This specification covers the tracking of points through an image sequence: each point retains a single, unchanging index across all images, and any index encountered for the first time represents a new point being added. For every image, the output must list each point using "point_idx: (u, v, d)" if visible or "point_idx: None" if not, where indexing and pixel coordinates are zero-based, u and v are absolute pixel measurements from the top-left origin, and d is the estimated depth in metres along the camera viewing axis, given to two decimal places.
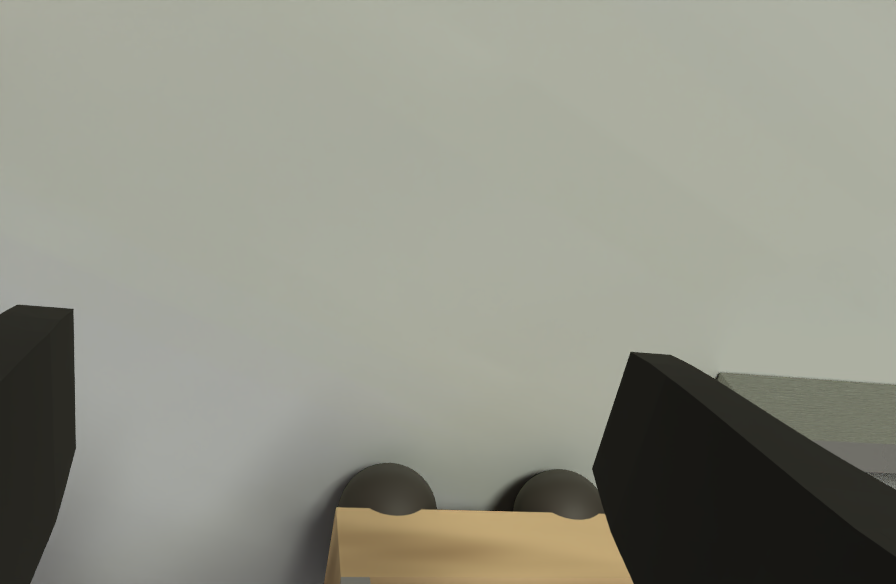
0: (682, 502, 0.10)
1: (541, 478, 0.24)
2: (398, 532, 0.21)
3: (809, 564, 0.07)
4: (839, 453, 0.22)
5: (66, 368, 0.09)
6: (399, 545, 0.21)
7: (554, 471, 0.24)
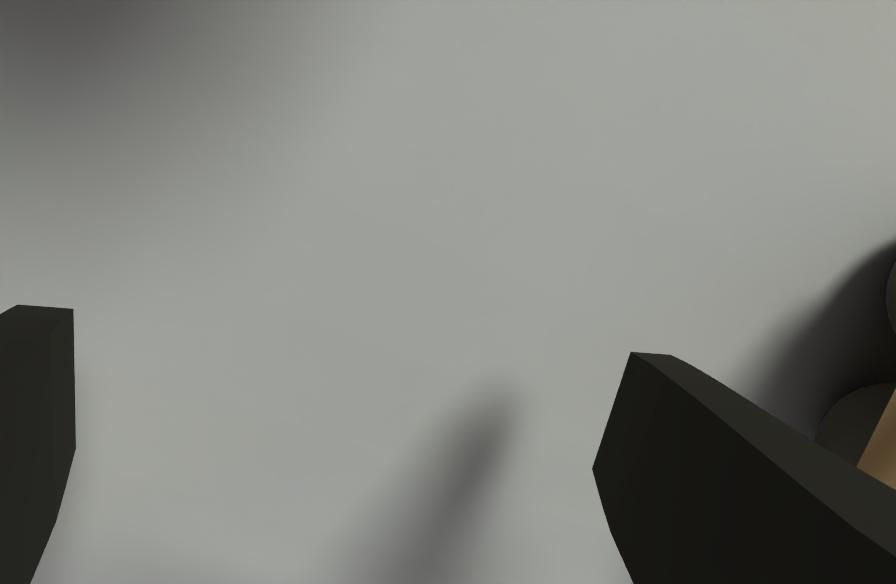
0: (682, 502, 0.10)
1: None
2: None
3: (809, 564, 0.07)
4: None
5: (66, 368, 0.09)
6: None
7: None
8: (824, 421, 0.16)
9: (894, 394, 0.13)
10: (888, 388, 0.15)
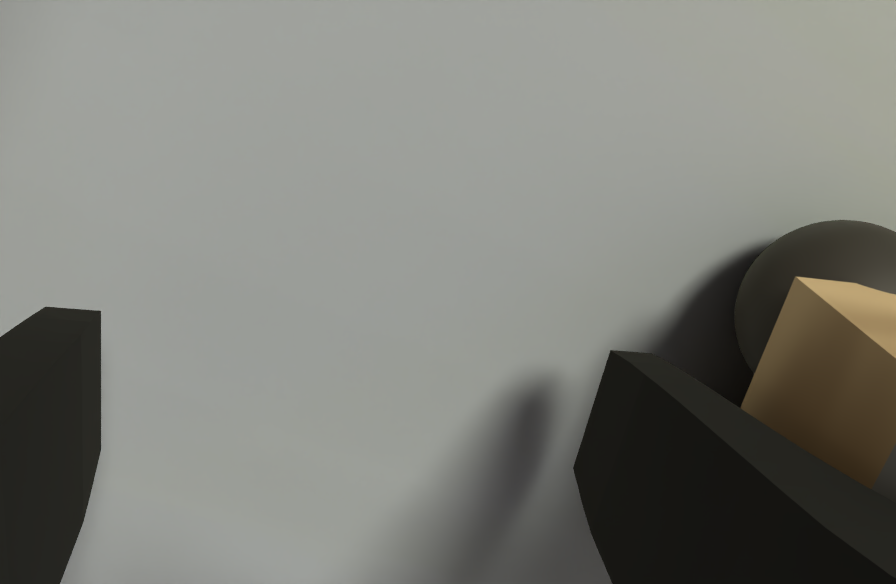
0: (659, 501, 0.09)
1: None
2: None
3: (781, 564, 0.07)
4: None
5: (93, 370, 0.09)
6: None
7: None
8: None
9: None
10: None
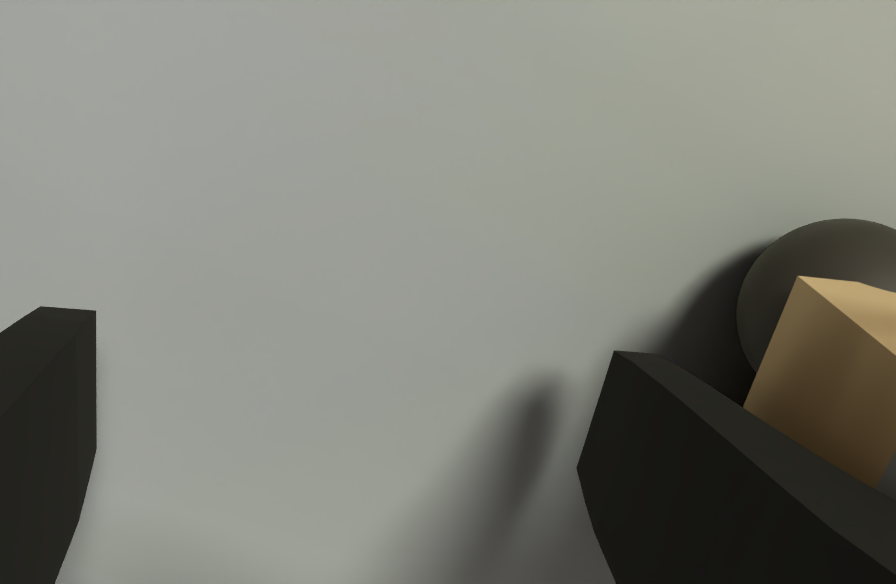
0: (663, 502, 0.10)
1: None
2: None
3: (786, 564, 0.07)
4: None
5: (89, 369, 0.09)
6: None
7: None
8: None
9: None
10: None
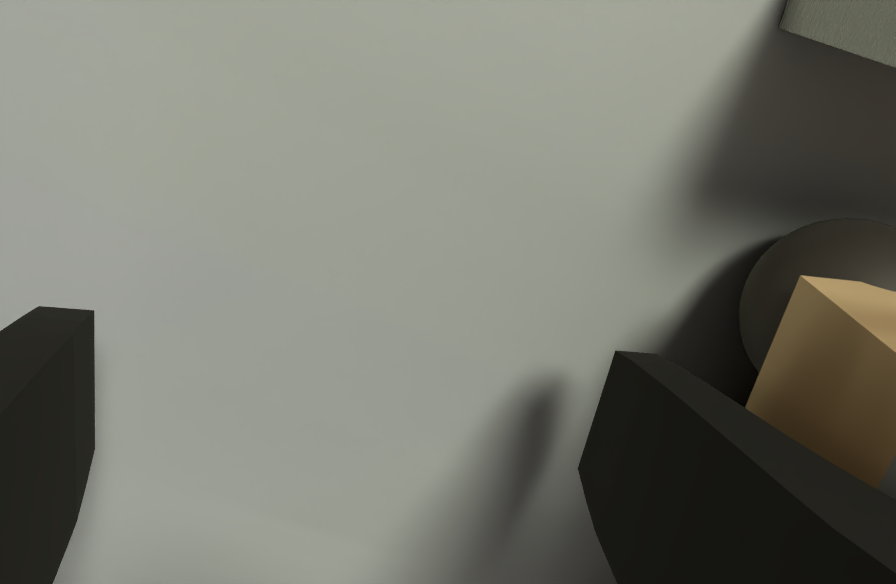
0: (665, 502, 0.10)
1: None
2: None
3: (788, 564, 0.07)
4: None
5: (87, 369, 0.09)
6: None
7: None
8: None
9: None
10: None
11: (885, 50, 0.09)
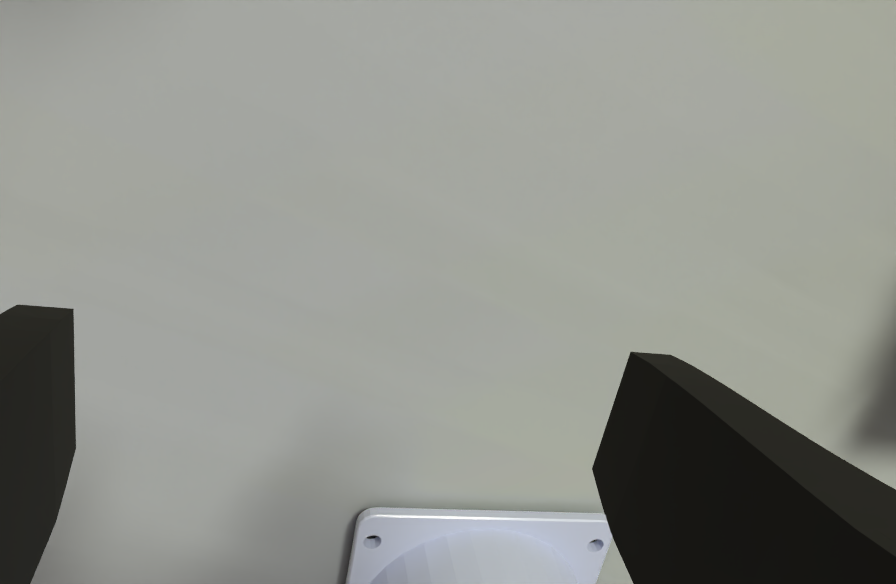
0: (682, 502, 0.10)
1: None
2: None
3: (809, 564, 0.07)
4: None
5: (66, 368, 0.09)
6: None
7: None
8: None
9: None
10: None
11: None
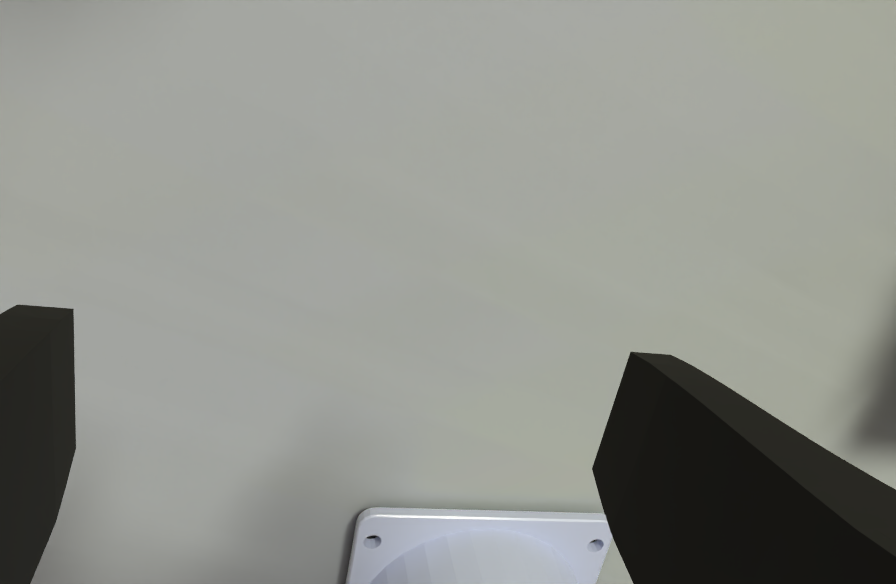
0: (682, 502, 0.10)
1: None
2: None
3: (809, 564, 0.07)
4: None
5: (66, 368, 0.09)
6: None
7: None
8: None
9: None
10: None
11: None
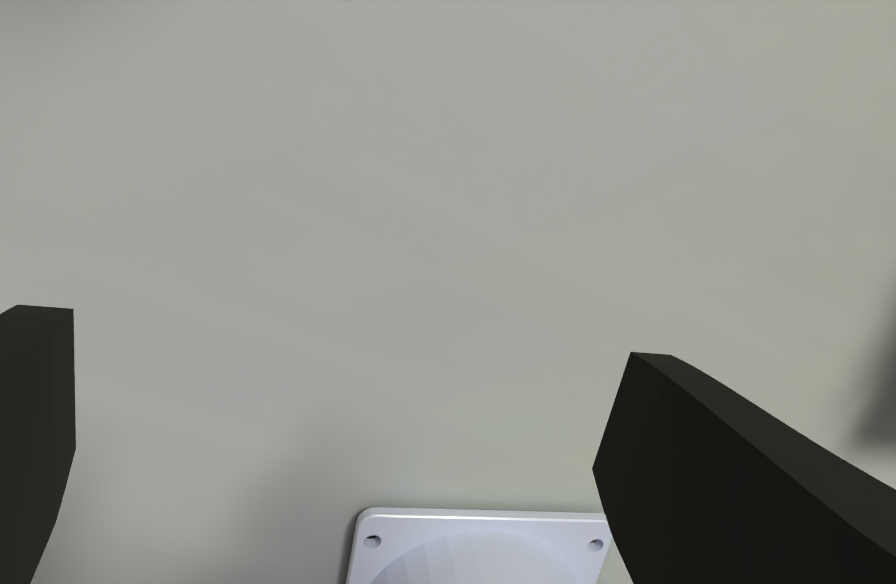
0: (682, 502, 0.10)
1: None
2: None
3: (809, 564, 0.07)
4: None
5: (66, 368, 0.09)
6: None
7: None
8: None
9: None
10: None
11: None
